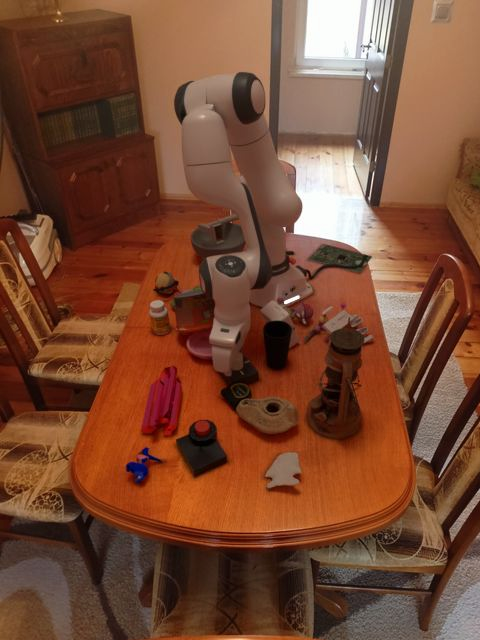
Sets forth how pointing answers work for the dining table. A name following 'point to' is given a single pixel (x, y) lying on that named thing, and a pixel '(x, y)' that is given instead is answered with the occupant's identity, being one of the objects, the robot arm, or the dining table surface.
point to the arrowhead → (284, 470)
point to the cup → (277, 343)
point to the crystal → (163, 402)
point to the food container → (194, 312)
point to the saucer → (200, 345)
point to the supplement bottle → (159, 317)
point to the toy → (165, 283)
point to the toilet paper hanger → (217, 228)
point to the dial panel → (242, 374)
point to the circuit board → (339, 257)
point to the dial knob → (238, 362)
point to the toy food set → (184, 292)
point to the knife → (289, 252)
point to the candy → (325, 319)
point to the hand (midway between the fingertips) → (234, 362)
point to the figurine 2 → (301, 315)
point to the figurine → (140, 465)
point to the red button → (202, 428)
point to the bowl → (208, 248)
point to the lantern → (338, 387)
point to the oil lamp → (268, 414)
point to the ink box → (279, 318)
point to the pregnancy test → (336, 320)
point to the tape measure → (236, 393)
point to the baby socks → (357, 323)
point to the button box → (201, 450)
